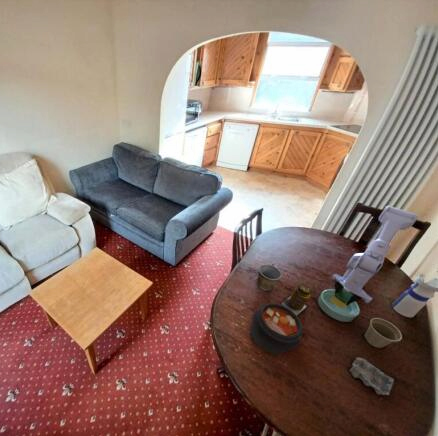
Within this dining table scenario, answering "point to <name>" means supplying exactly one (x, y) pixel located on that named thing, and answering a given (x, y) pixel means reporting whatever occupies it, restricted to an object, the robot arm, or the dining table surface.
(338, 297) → the sponge
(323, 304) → the bowl
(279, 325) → the casserole
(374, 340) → the flower pot
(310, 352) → the dining table surface
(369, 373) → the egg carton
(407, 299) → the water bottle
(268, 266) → the ceramic cup
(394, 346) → the dining table surface
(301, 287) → the condiment
